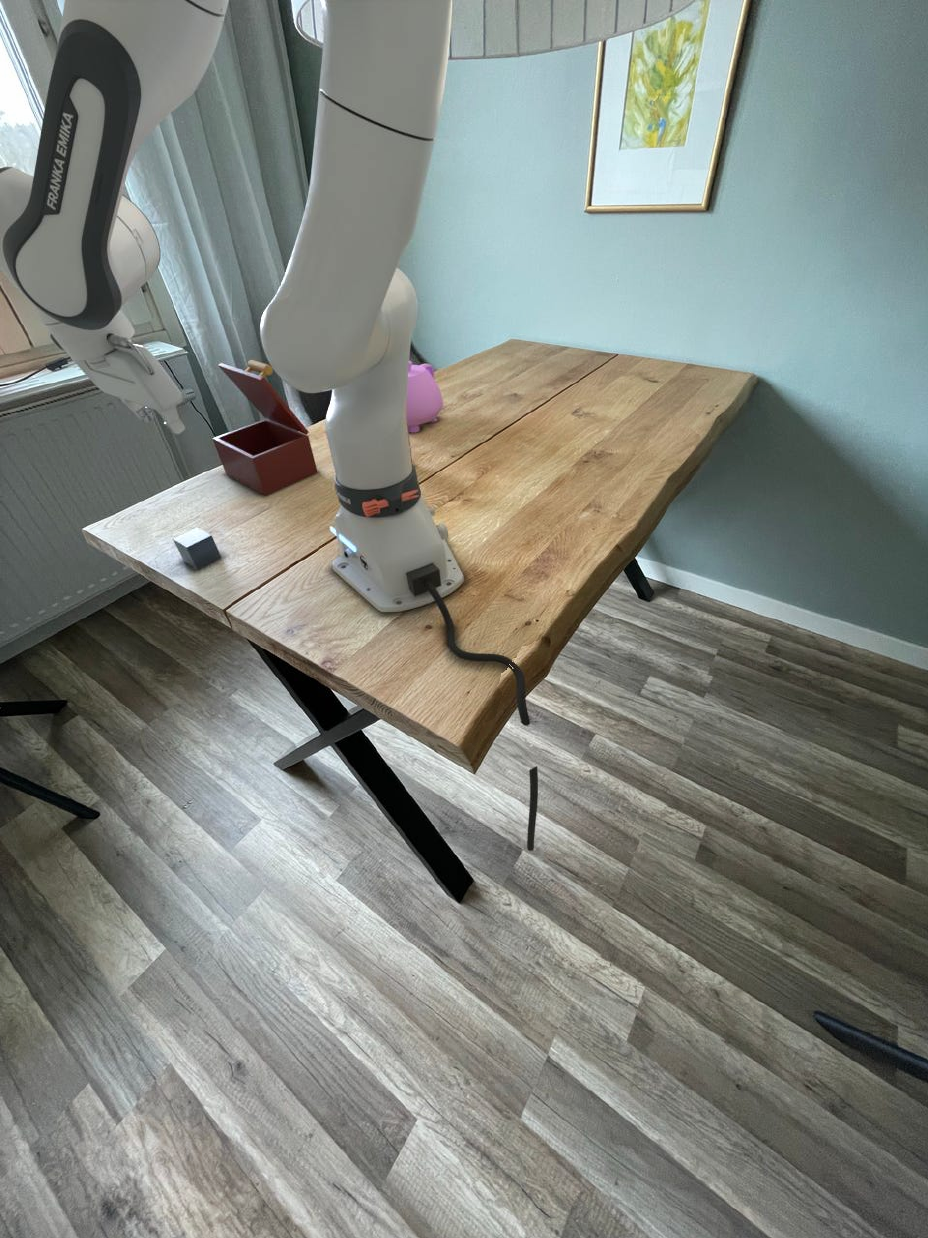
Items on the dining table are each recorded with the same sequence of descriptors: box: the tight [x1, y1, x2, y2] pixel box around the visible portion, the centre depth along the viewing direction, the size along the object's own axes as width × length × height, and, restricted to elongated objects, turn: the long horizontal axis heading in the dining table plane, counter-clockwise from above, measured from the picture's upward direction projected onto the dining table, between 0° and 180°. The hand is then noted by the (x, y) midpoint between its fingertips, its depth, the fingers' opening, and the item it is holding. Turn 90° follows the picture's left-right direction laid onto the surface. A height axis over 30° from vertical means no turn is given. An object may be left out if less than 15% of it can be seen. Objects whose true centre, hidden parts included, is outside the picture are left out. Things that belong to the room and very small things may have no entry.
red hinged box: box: [212, 418, 319, 497], centre depth 107 cm, size 13×16×8 cm
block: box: [172, 526, 222, 571], centre depth 85 cm, size 4×4×4 cm
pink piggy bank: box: [406, 360, 444, 433], centre depth 121 cm, size 22×16×14 cm
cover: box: [217, 359, 310, 436], centre depth 102 cm, size 14×16×5 cm
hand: (163, 425), depth 79 cm, fingers open, 8 cm apart
